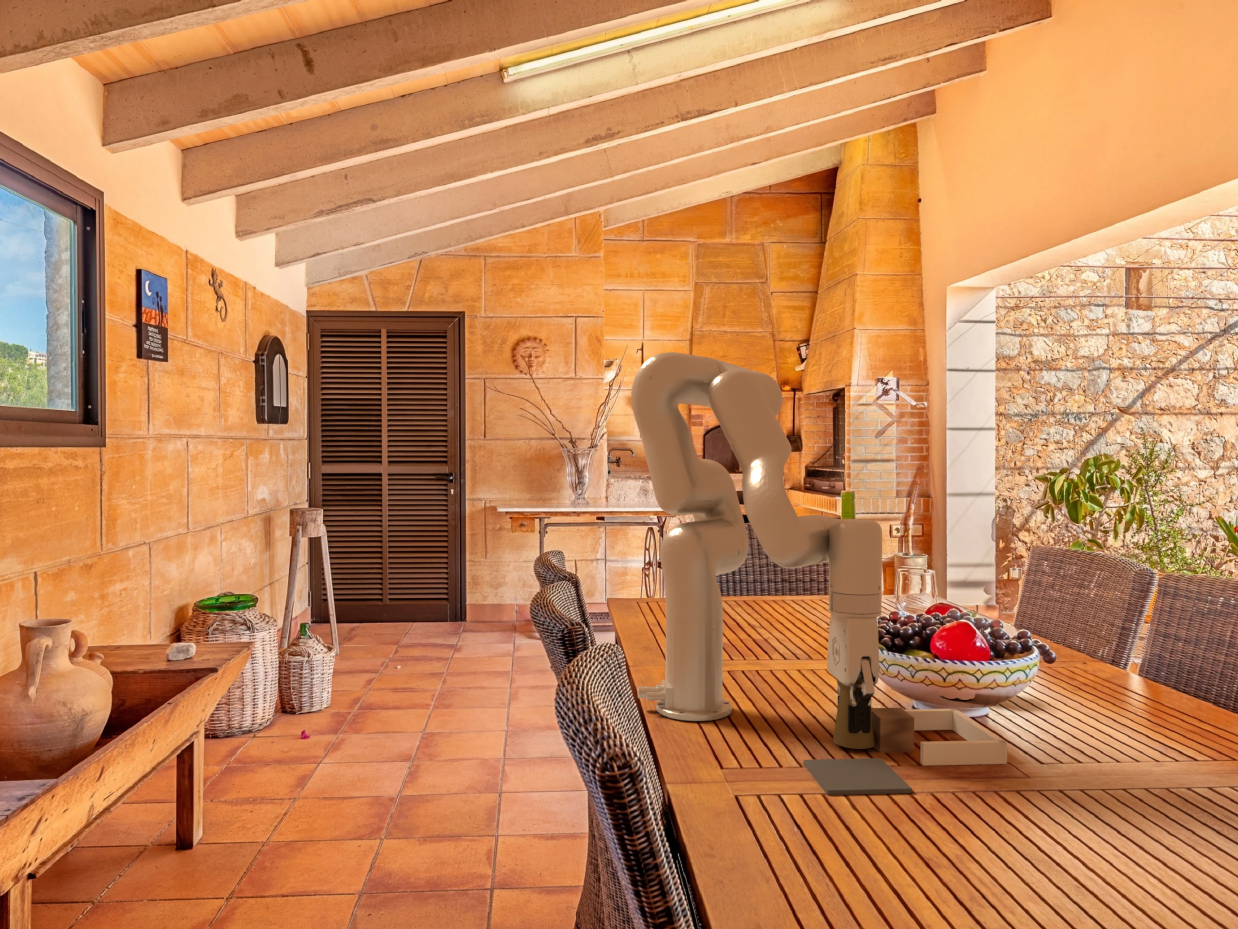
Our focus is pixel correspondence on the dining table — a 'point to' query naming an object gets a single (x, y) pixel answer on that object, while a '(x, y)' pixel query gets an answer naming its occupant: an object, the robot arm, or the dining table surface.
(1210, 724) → the dining table surface
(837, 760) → the mat
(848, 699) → the cork
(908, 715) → the walnut block
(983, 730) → the tray
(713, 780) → the dining table surface
